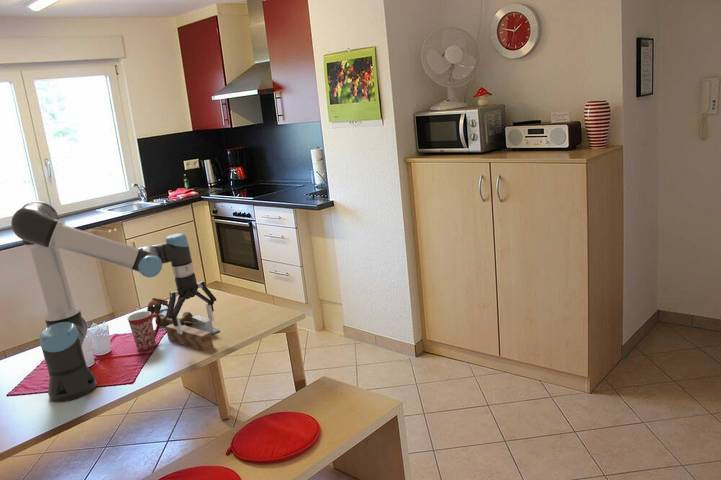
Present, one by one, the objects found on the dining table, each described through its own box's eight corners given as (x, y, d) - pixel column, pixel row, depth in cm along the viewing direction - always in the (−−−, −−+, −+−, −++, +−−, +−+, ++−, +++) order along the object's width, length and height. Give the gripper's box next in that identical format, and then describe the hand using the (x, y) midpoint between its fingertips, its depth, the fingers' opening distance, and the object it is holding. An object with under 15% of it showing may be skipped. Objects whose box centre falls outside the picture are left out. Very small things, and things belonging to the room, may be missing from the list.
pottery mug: (144, 314, 276) (149, 296, 278) (165, 318, 280) (169, 301, 281) (146, 315, 265) (151, 297, 267) (167, 319, 269) (172, 301, 270)
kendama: (169, 322, 262) (202, 324, 252) (152, 331, 254) (185, 334, 244) (165, 309, 261) (198, 311, 251) (148, 318, 253) (182, 321, 243)
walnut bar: (213, 346, 229) (210, 332, 227) (204, 350, 226) (201, 336, 224) (176, 336, 244) (174, 322, 242) (168, 340, 241) (165, 326, 239)
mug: (141, 353, 230) (133, 321, 226) (130, 348, 236) (123, 317, 233) (170, 341, 238) (163, 310, 235) (159, 336, 245) (152, 306, 241)
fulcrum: (202, 338, 237) (199, 324, 236) (188, 332, 246) (185, 318, 244) (219, 331, 242) (217, 317, 241) (205, 325, 251) (202, 312, 249)
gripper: (158, 286, 211) (170, 341, 217) (218, 265, 228) (228, 316, 233) (148, 283, 217) (161, 336, 222) (208, 263, 233) (219, 313, 238)
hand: (196, 326), depth 228 cm, fingers open, 13 cm apart
